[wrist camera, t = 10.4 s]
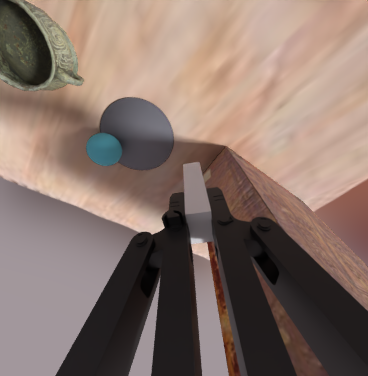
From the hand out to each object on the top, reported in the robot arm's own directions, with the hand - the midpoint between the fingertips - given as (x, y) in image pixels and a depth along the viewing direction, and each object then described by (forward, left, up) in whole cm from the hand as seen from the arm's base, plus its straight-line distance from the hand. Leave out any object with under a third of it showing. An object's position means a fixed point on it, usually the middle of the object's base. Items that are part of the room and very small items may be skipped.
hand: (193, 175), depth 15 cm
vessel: (-13, -17, -17) cm, 28 cm away
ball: (0, -14, -14) cm, 20 cm away
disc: (0, -9, -16) cm, 19 cm away
